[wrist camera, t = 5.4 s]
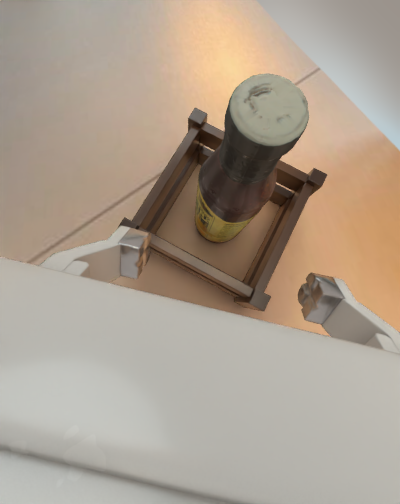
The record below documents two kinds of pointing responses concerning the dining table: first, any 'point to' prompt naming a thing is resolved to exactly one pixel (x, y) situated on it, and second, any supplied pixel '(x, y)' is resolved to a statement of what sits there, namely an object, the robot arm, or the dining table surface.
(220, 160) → the sauce bottle
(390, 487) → the robot arm
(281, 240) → the crate
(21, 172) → the dining table surface
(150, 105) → the dining table surface
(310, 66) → the dining table surface
